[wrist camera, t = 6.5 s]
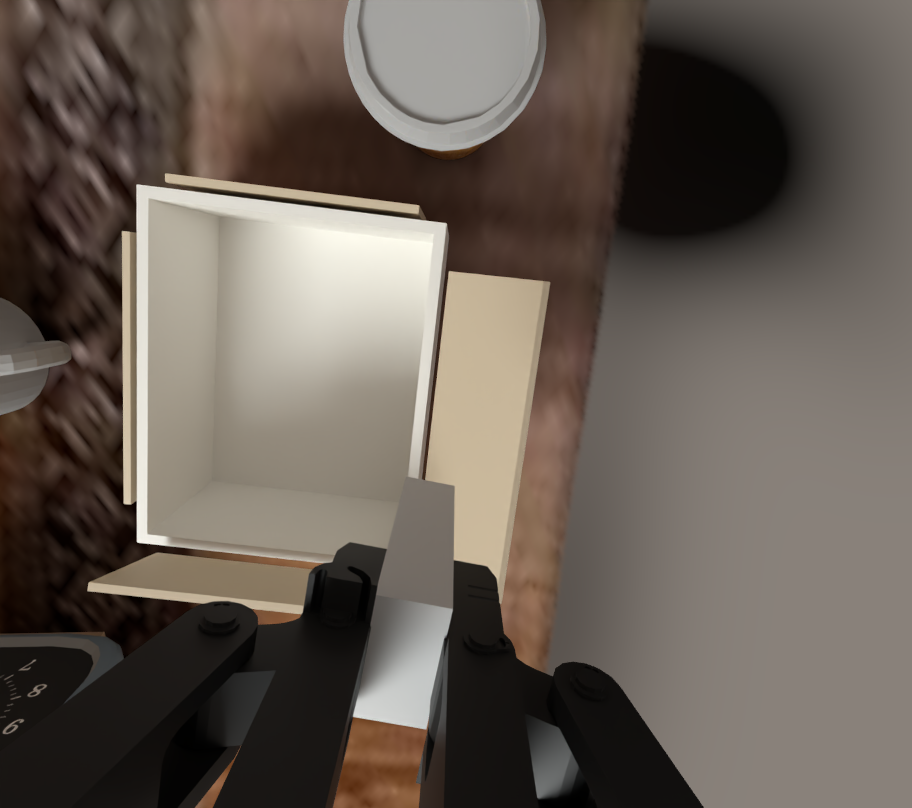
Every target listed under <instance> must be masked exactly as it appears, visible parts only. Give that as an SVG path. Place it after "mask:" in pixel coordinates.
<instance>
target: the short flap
mask: <svg viewBox="0 0 912 808" xmlns="http://www.w3.org/2000/svg"><path fill="white" fill-rule="evenodd" d="M311 571H312V570H311V569H302V568H293V567H284V566H275V565H266V564H257V563H248V562H239V561H230V560H221V559H212V558H202V557H193V556H184V555H175V554H166V553H155V554H152V555H150V556H148V557H145V558H143V559H141V560H139V561H136V562H134V563H132V564H129V565H127V566H125V567H123V568H120V569H118V570H116V571H113V572H111V573H109V574H107V575H104V576H102V577H100V578H97V579H95V580H93V581H91V582H89V583H88V590H87V591H92V592H101V593H110V594H119V595H129V596H138V597H147V598H156V599H166V600H175V601H184V602H193V603H203V604H205V603H209V602H213V601H231V602H235V603H240V604H243V605H245V606H247V607H249V608H250V609H258V610H267V611H276V612H286V613H295V614H302V613H303V608H304V602H305V595H306V589H307V583H308V577H309V573H310V572H311Z"/></svg>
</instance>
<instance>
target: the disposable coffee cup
mask: <svg viewBox="0 0 912 808" xmlns="http://www.w3.org/2000/svg"><path fill="white" fill-rule="evenodd" d="M344 51H345V59H346V63H347V67H348V72H349V76H350V78H351V81H352V83H353V86H354V88H355V90H356V92H357V94H358V96H359V98H360V99H361V101H362V103H363V105H364V106H365V107H366V109H367V110H368V111H369V112H370V114H371V115H372V116H373V117H374V118H375V119H376V120H377V121H378V122H379V124H381V125H382V126H383V127H384V128H385V129H386V130H387V131H389V132H390V133H392V134H393V135H395V136H396V137H398V138H400V139H401V140H403V141H405V142H408V143H410V144H413V145H415V146H417V147H418V148H419V149H420V150H421V151H422V152H424V153H426V154H428V155H429V156H432V157H435V158H437V159H444V160H453V159H459V158H462V157H466V156H468V155H469V154H471V153H473V152H475V151H476V150H477V149H478V148H479V147H481V146H482V144H483V143H484V142H486V141H487V140H489V139H491V138H492V137H494V136H496V135H497V134H499V133H500V132H502V131H504V130H505V129H506V128H507V127H508V126H509V125H510V124H511V123H512V121H513V120H514V119H515V118H516V117H517V116H518V115H519V114H520V113H521V112H522V111H523V110H524V108H525V106H526V105H527V103H528V101H529V100H530V98H531V96H532V94H533V93H534V91H535V89H536V86H537V83H538V81H539V78H540V75H541V73H542V69H543V63H544V57H545V51H546V21H545V17H544V13H543V9H542V4H541V0H349V3H348V7H347V11H346V15H345V23H344Z"/></svg>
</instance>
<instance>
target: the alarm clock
mask: <svg viewBox="0 0 912 808" xmlns="http://www.w3.org/2000/svg"><path fill="white" fill-rule="evenodd" d="M123 659H124V657H123V653H122V649H121V647H120V645H119V644H117V643H115V642H114V641H112V640H111V639H109V638H108V637H106V636H105V632H66V633H14V634H0V751H1V750H3V749H4V748H5V747H7V746H8V745H9V744H11V743H12V742H13V741H15V740H16V739H17V738H19V737H20V736H21V735H23V734H24V733H25V732H27V731H28V730H29V729H31V728H32V727H33V726H35V725H36V724H37V723H39V722H40V721H41V720H43V719H44V718H45V717H47V716H48V715H49V714H51V713H52V712H53V711H55V710H56V709H57V708H59V707H60V706H61V705H63V704H64V703H65V702H67V701H68V700H69V699H71V698H72V697H73V696H75V695H76V694H77V693H79V692H80V691H81V690H83V689H84V688H85V687H87V686H88V685H90V684H91V683H92V682H94V681H95V680H96V679H98V678H99V677H100V676H102V675H103V674H104V673H106V672H107V671H108V670H110V669H111V668H112V667H114V666H115V665H116V664H118V663H119V662H120V661H122V660H123Z"/></svg>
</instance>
